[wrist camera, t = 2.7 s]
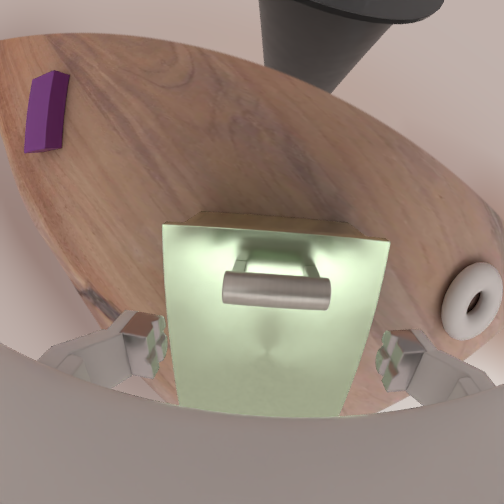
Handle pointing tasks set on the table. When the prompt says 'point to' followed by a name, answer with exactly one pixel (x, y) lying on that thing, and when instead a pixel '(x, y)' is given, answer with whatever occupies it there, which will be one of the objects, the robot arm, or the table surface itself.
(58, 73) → the purple rectangular block
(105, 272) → the table surface
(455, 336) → the donut
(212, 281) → the green box lid
